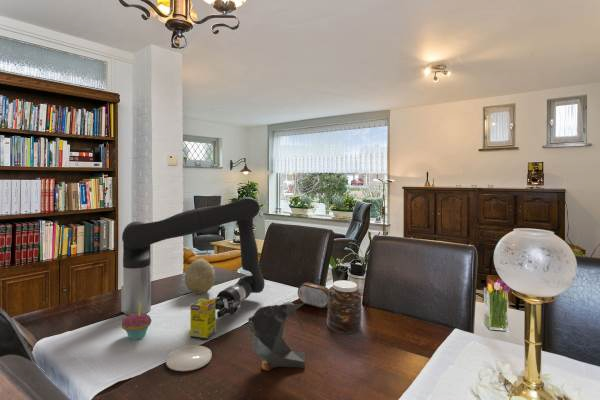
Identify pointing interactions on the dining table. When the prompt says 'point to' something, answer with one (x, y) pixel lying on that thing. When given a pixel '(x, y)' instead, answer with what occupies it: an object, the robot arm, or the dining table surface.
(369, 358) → the dining table surface
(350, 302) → the jar
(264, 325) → the grey bird figurine
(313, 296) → the tin
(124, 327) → the cupcake
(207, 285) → the fossilized egg
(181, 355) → the plate
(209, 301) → the supplement box
